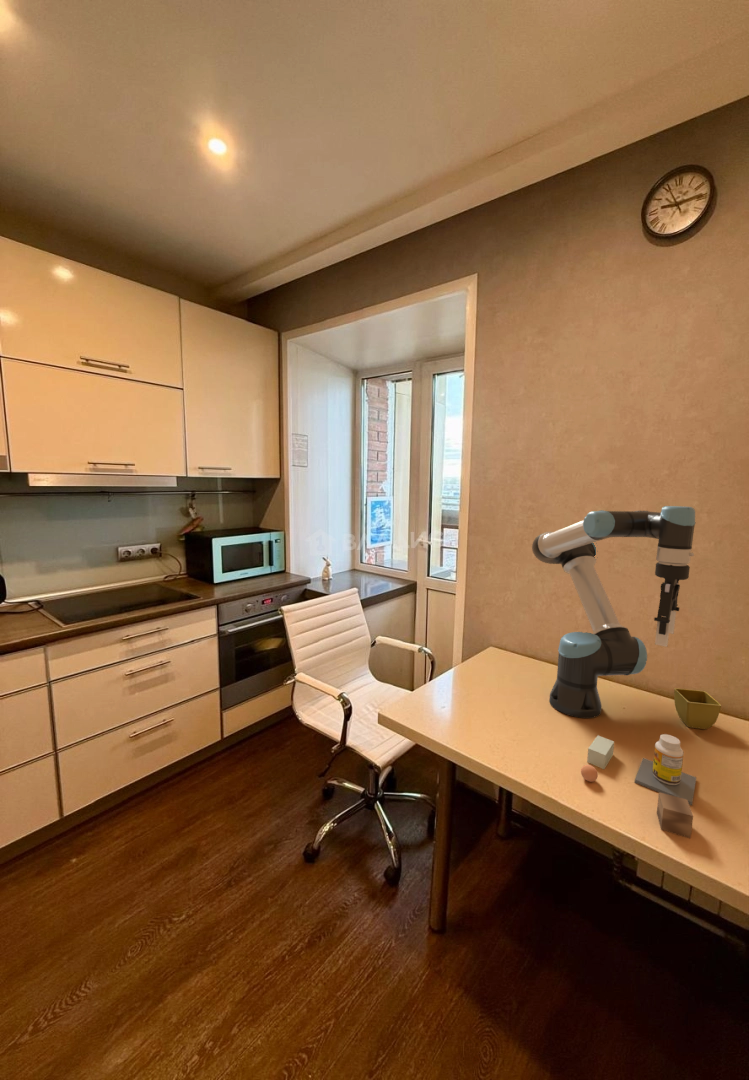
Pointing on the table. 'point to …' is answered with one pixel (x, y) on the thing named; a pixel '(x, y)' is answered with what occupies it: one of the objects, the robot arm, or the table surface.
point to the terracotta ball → (589, 773)
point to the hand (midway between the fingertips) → (664, 638)
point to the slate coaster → (648, 780)
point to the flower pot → (696, 708)
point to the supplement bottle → (668, 760)
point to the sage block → (600, 752)
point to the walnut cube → (674, 815)
